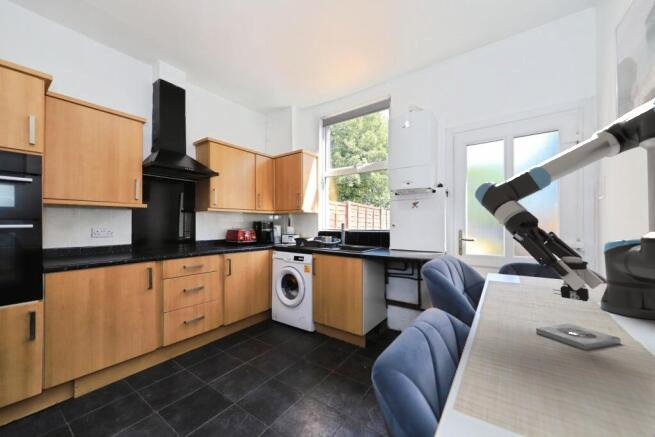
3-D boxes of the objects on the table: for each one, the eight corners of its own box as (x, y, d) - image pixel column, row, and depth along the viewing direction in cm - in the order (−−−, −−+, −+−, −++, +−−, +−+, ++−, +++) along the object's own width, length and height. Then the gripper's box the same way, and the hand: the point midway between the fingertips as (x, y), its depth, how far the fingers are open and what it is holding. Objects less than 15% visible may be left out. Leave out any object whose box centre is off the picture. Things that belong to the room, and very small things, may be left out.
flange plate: (568, 328, 68) (568, 323, 68) (620, 343, 58) (620, 338, 59) (536, 333, 65) (536, 328, 65) (585, 350, 55) (585, 344, 55)
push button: (550, 297, 64) (548, 257, 64) (555, 293, 67) (553, 255, 67) (588, 303, 58) (585, 260, 59) (592, 298, 62) (589, 257, 62)
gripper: (529, 228, 81) (600, 292, 64) (484, 228, 76) (549, 297, 59) (547, 210, 76) (629, 274, 59) (500, 208, 71) (575, 278, 54)
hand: (589, 286), depth 59 cm, fingers closed on push button, 5 cm apart
